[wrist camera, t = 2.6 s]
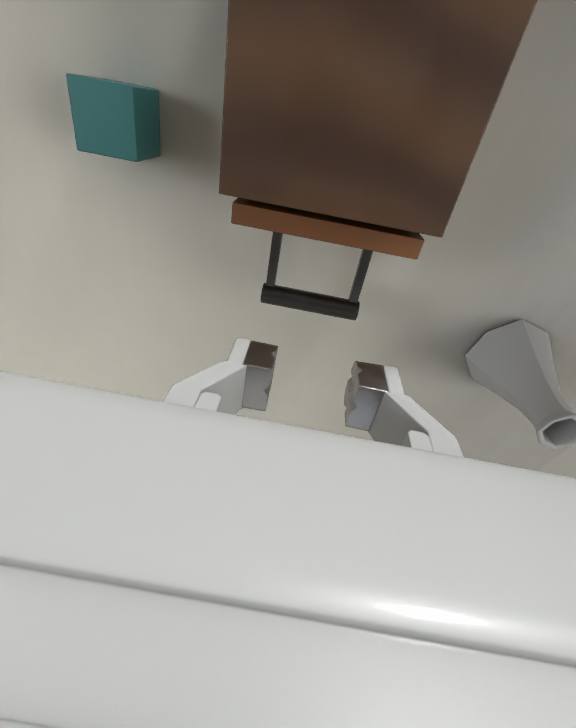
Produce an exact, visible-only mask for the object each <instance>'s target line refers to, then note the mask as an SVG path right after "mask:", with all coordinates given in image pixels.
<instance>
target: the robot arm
mask: <svg viewBox="0 0 576 728" xmlns="http://www.w3.org/2000/svg"><path fill="white" fill-rule="evenodd" d="M277 349H278V346H276V345H271V344H266V343H261V342H256V341H251V340H247V339H241V338H237V339H236V340H235V343H234V345H233V347H232V350H231V352H230V355H229V357H228V359H227V362H226V361H222V362H220V363H218V364H215V365H213V366H211V367H209V368H207V369H205V370H203V371H201V372H198V373H196V374H194V375H192V376H190V377H188V378H186V379H184V380H182V381H179V382H177V383H175V384H173V385H172V387H171V388H170V390H169V392H168V393H167V395H166V397H165V399H164V400H163V401H158V400H152V399H147V398H142V397H136V396H131V395H125V394H120V393H115V392H109V391H104V390H99V389H93V388H88V387H83V386H77V385H72V384H66V383H61V382H56V381H50V380H45V379H40V378H34V377H29V376H23V375H18V374H13V373H7V372H2V371H0V728H576V478H570V477H566V476H560V475H555V474H550V473H544V472H539V471H534V470H528V469H523V468H518V467H512V466H507V465H501V464H496V463H491V462H485V461H480V460H475V459H469V458H464V457H463V454H462V452H461V449H460V446H459V444H458V441H457V439H456V437H455V436H453V435H452V434H451V433H450V432H449V431H448V430H447V429H445V428H444V427H443V426H442V425H441V424H440V423H439V422H438V421H436V420H435V419H434V418H433V417H432V416H431V415H430V414H428V413H427V412H426V411H425V410H424V409H423V408H422V407H421V406H419V405H418V404H417V403H416V402H415V401H414V400H413V399H411V398H410V397H409V396H406V395H404V391H403V387H402V384H401V380H400V376H399V373H398V369H397V368H396V367H389V366H383V365H376V364H370V363H364V362H358V361H355V362H354V364H353V367H352V369H351V374H352V378H350V379H349V380H348V382H347V385H346V389H345V394H344V405H345V406H346V410H345V426H347V427H352V428H357V429H361V430H366V431H369V433H370V435H371V436H372V438H373V439H374V441H373V440H367V439H362V438H356V437H351V436H346V435H340V434H335V433H330V432H324V431H319V430H313V429H308V428H303V427H297V426H292V425H287V424H281V423H276V422H270V421H265V420H260V419H254V418H249V417H244V416H238V415H234V414H235V413H237V412H238V411H239V410H240V409H242V407H243V408H249V409H255V410H261V411H266V406H267V402H268V397H269V391H270V388H271V383H272V378H273V373H274V367H275V366H274V365H275V360H276V355H277Z"/></svg>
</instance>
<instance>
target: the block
mask: <svg viewBox="0 0 576 728" xmlns="http://www.w3.org/2000/svg"><path fill="white" fill-rule="evenodd" d="M66 77H67V84H68V91H69V97H70V104H71V111H72V117H73V124H74V131H75V138H76V144H77V150H79V151H84V152H89V153H94V154H99V155H104V156H109V157H114V158H119V159H124V160H129V161H134V162H139V161H143V160H147V159H150V158H154V157H158V156H160V127H159V97H158V90H157V89H152V88H147V87H142V86H137V85H132V84H127V83H122V82H117V81H112V80H107V79H102V78H96V77H89V76H82V75H75V74H69V73H67V74H66Z"/></svg>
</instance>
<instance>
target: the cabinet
mask: <svg viewBox="0 0 576 728" xmlns="http://www.w3.org/2000/svg"><path fill="white" fill-rule="evenodd" d="M536 2H537V0H229V5H228V25H227V45H226V65H225V85H224V105H223V125H222V145H221V165H220V185H219V193H220V194H224V195H229V196H234V197H239V198H244V199H249V200H254V201H259V202H264V203H269V204H274V205H279V206H284V207H290V208H295V209H300V210H305V211H310V212H315V213H320V214H325V215H330V216H335V217H340V218H345V219H350V220H356V221H361V222H366V223H371V224H376V225H381V226H386V227H391V228H396V229H401V230H406V231H411V232H416V233H422V234H427V235H432V236H437V237H442V236H443V234H444V231H445V229H446V226H447V224H448V221H449V219H450V216H451V214H452V211H453V209H454V206H455V204H456V201H457V199H458V196H459V194H460V191H461V189H462V186H463V184H464V181H465V179H466V176H467V174H468V171H469V169H470V166H471V164H472V162H473V159H474V157H475V154H476V152H477V149H478V147H479V144H480V142H481V139H482V137H483V134H484V132H485V129H486V127H487V124H488V122H489V119H490V117H491V114H492V112H493V109H494V107H495V104H496V102H497V99H498V97H499V94H500V92H501V89H502V87H503V84H504V82H505V80H506V77H507V75H508V72H509V70H510V67H511V65H512V62H513V60H514V57H515V55H516V52H517V50H518V47H519V45H520V42H521V40H522V37H523V35H524V32H525V30H526V27H527V25H528V22H529V20H530V17H531V15H532V12H533V10H534V7H535V5H536Z"/></svg>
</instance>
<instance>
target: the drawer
mask: <svg viewBox="0 0 576 728" xmlns="http://www.w3.org/2000/svg"><path fill="white" fill-rule="evenodd" d="M231 223H233V224H238V225H243V226H248V227H253V228H258V229H263V230H269V231H273V237H272V244H271V252H270V259H269V266H268V274H267V281H266V283H264V284H263V288H262V293H261V302H262V303H267V304H272V305H277V306H283V307H288V308H293V309H298V310H303V311H309V312H314V313H319V314H324V315H329V316H334V317H340V318H345V319H350V320H356V318H357V315H358V312H359V306H360V303H359V301H358V299H359V295H360V292H361V289H362V285H363V282H364V279H365V275H366V272H367V269H368V265H369V262H370V259H371V255H372V252H373V251H376V252H381V253H386V254H391V255H396V256H401V257H406V258H412V259H418V256H419V253H420V251H421V248H422V245H423V243H424V239H423V238H422V236H421V235H420V234H419V233H416V232H411V231H406V230H401V229H396V228H391V227H386V226H381V225H376V224H371V223H366V222H361V221H356V220H350V219H345V218H340V217H335V216H330V215H325V214H320V213H315V212H310V211H305V210H300V209H295V208H290V207H284V206H279V205H274V204H269V203H264V202H259V201H254V200H249V199H244V198H239V197H238V198H237V199H236V200H235V201H234V202H233V205H232V219H231ZM283 233H284V234H289V235H294V236H299V237H304V238H309V239H315V240H320V241H325V242H330V243H335V244H340V245H345V246H350V247H355V248H360V249H363V250H362V254H361V257H360V261H359V264H358V268H357V271H356V275H355V278H354V282H353V285H352V289H351V292H350V296H349V299H344V298H339V297H334V296H329V295H324V294H319V293H313V292H308V291H303V290H298V289H293V288H288V287H282V286H277V285H275V282H276V275H277V268H278V262H279V255H280V249H281V242H282V236H283Z"/></svg>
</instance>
